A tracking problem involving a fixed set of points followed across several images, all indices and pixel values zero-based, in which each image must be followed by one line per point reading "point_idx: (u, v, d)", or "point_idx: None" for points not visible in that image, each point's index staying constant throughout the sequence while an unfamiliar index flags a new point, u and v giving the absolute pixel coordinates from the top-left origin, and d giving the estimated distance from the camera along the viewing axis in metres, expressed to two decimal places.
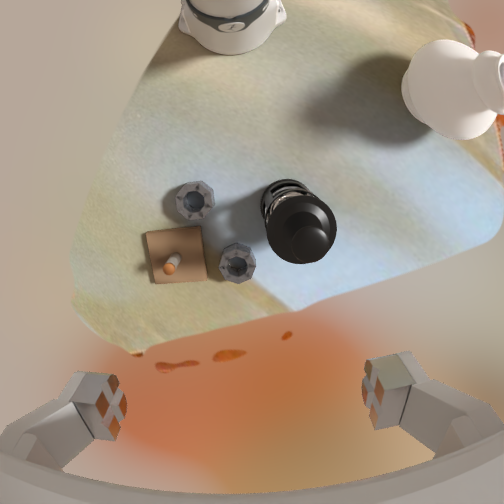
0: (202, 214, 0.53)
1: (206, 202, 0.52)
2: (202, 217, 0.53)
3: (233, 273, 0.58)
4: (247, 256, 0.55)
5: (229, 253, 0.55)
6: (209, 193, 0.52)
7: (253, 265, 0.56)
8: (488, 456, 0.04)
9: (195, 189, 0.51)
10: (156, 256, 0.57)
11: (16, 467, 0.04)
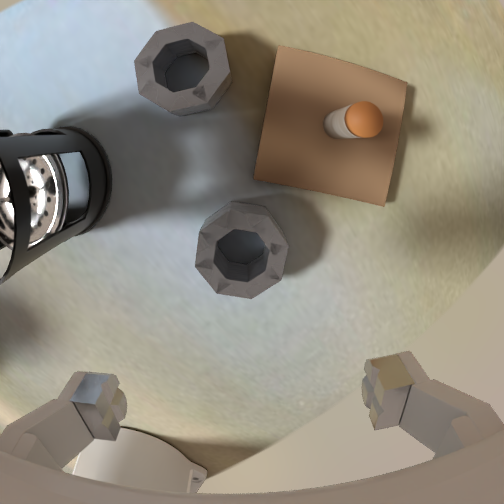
0: (227, 221, 0.21)
1: (210, 247, 0.21)
2: (230, 213, 0.21)
3: (199, 48, 0.18)
4: (146, 87, 0.18)
5: (188, 103, 0.18)
6: (198, 265, 0.22)
7: (139, 63, 0.17)
8: (488, 456, 0.04)
9: (228, 282, 0.22)
10: (381, 144, 0.21)
11: (16, 467, 0.04)
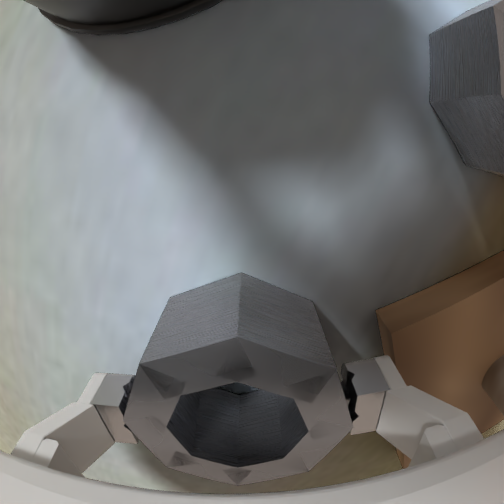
0: (304, 379, 0.07)
1: (214, 377, 0.07)
2: (328, 375, 0.07)
3: None
4: None
5: None
6: (148, 369, 0.07)
7: None
8: (488, 456, 0.04)
9: (162, 432, 0.08)
10: (481, 423, 0.11)
11: (16, 467, 0.04)
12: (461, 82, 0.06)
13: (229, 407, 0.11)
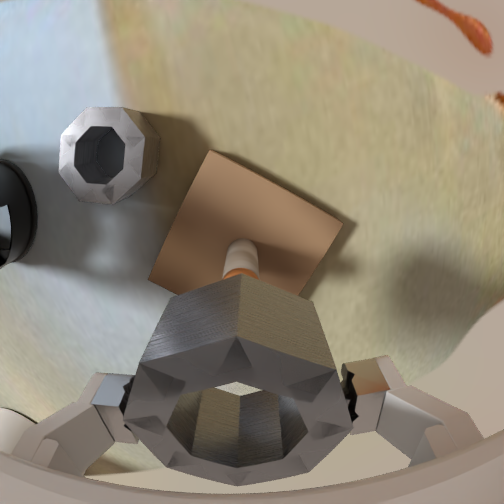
0: (304, 379, 0.07)
1: (213, 377, 0.07)
2: (327, 376, 0.07)
3: None
4: (65, 168, 0.17)
5: (97, 199, 0.18)
6: (148, 368, 0.07)
7: (64, 139, 0.17)
8: (488, 456, 0.04)
9: (162, 431, 0.08)
10: (286, 282, 0.22)
11: (16, 467, 0.04)
12: None
13: (229, 408, 0.11)
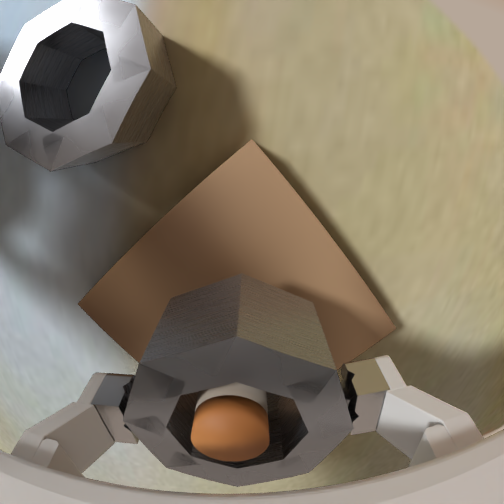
0: (305, 379, 0.07)
1: (213, 377, 0.07)
2: (327, 376, 0.07)
3: None
4: (6, 83, 0.07)
5: (30, 152, 0.08)
6: (148, 368, 0.07)
7: (26, 33, 0.07)
8: (488, 456, 0.04)
9: (162, 432, 0.08)
10: None
11: (16, 467, 0.04)
12: None
13: None
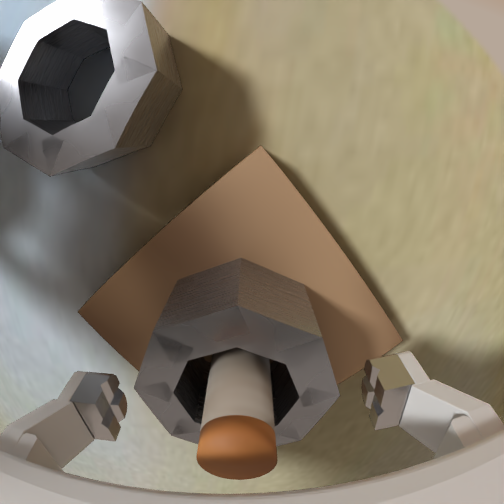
0: (295, 345, 0.08)
1: (217, 343, 0.08)
2: (315, 343, 0.08)
3: None
4: (4, 82, 0.07)
5: (28, 155, 0.08)
6: (160, 336, 0.08)
7: (26, 30, 0.07)
8: (488, 456, 0.04)
9: (169, 398, 0.09)
10: None
11: (16, 467, 0.04)
12: None
13: None
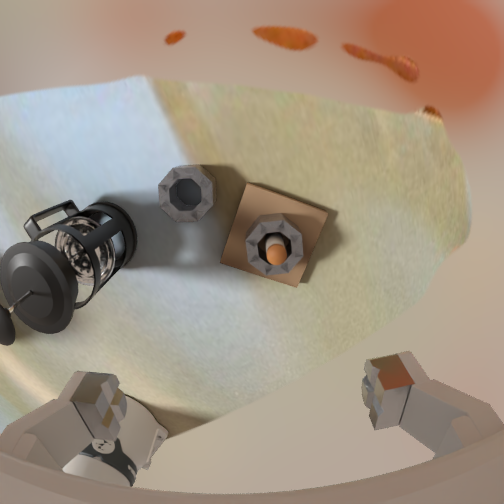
0: (278, 225, 0.34)
1: (261, 234, 0.34)
2: (283, 222, 0.34)
3: None
4: (164, 204, 0.34)
5: (187, 219, 0.35)
6: (247, 240, 0.34)
7: (161, 187, 0.34)
8: (488, 456, 0.04)
9: (258, 259, 0.35)
10: None
11: (16, 467, 0.04)
12: None
13: None
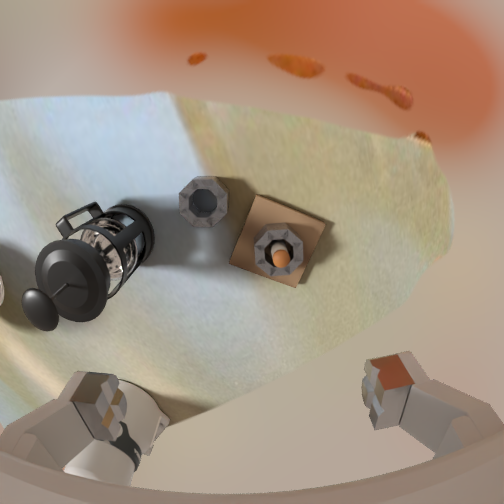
0: (283, 233, 0.39)
1: (268, 240, 0.39)
2: (287, 231, 0.39)
3: None
4: (183, 210, 0.40)
5: (203, 225, 0.40)
6: (256, 245, 0.40)
7: (181, 195, 0.39)
8: (488, 456, 0.04)
9: (264, 262, 0.40)
10: None
11: (16, 467, 0.04)
12: None
13: None
